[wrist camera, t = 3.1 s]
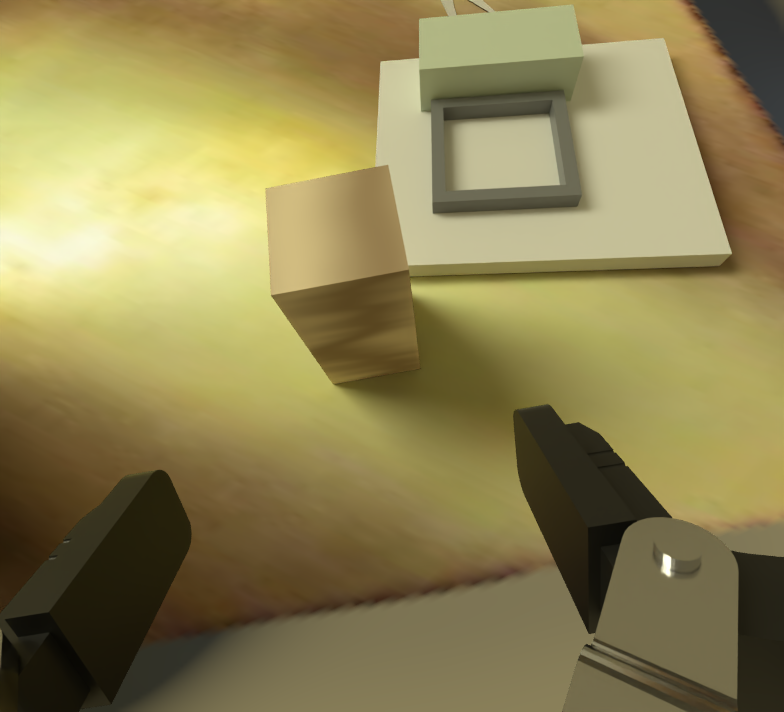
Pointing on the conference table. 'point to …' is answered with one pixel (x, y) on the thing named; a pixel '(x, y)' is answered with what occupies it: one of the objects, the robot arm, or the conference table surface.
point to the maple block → (344, 273)
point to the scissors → (449, 6)
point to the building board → (551, 172)
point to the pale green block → (499, 53)
